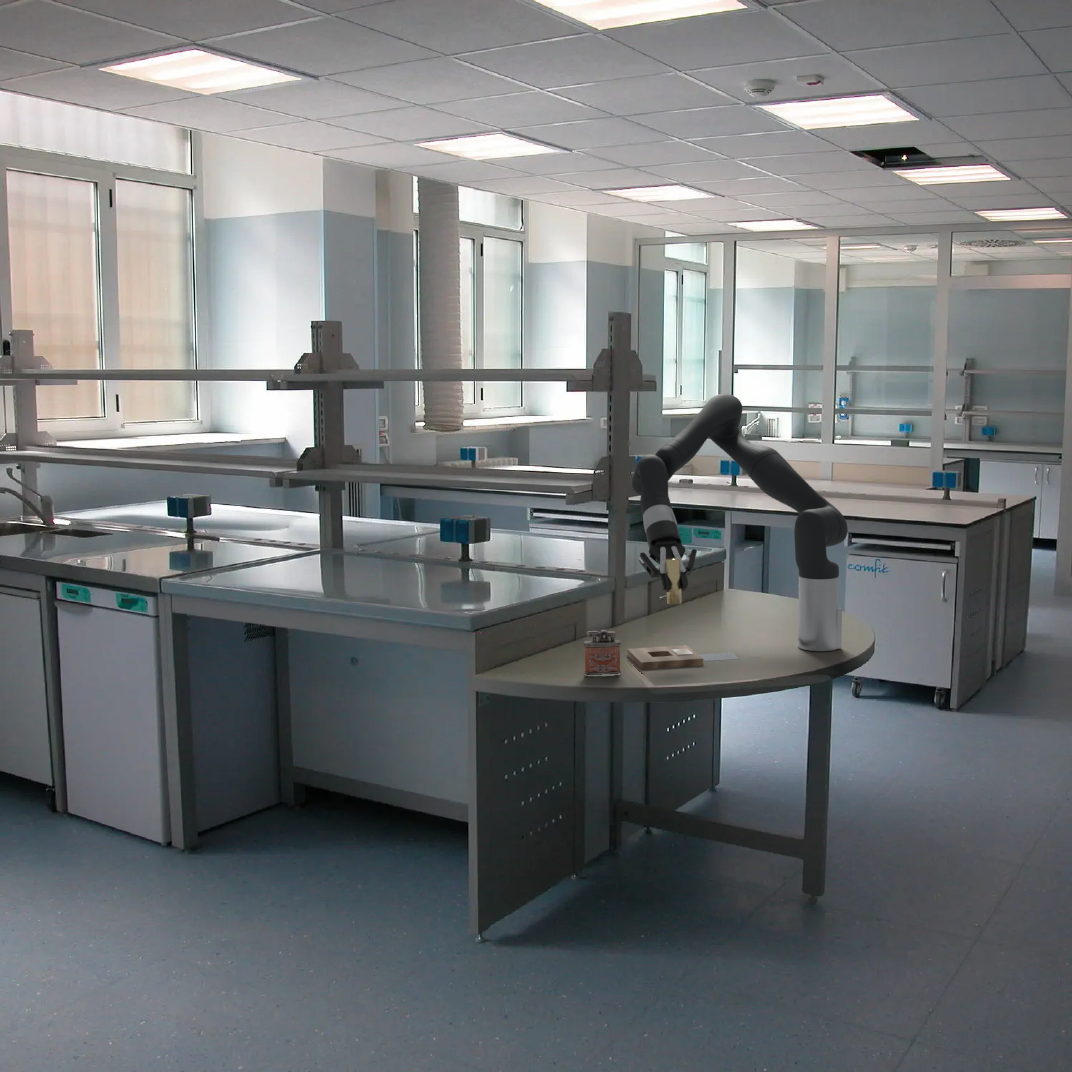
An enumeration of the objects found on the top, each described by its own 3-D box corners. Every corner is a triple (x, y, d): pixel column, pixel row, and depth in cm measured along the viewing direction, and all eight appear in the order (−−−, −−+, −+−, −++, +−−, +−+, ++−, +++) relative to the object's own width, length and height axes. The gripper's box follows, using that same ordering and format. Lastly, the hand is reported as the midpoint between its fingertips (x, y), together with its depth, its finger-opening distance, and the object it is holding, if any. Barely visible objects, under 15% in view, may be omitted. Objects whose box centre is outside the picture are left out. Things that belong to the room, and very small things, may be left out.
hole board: (686, 657, 260) (686, 644, 260) (703, 671, 247) (703, 657, 247) (627, 661, 258) (627, 648, 257) (641, 675, 245) (641, 661, 245)
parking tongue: (730, 658, 258) (730, 652, 258) (739, 665, 252) (739, 658, 252) (697, 661, 257) (697, 654, 257) (704, 667, 251) (704, 660, 251)
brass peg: (679, 601, 254) (678, 557, 253) (683, 603, 251) (681, 559, 250) (665, 602, 254) (664, 558, 252) (669, 604, 251) (667, 560, 249)
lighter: (620, 672, 249) (619, 628, 247) (621, 676, 245) (621, 631, 244) (583, 673, 248) (583, 629, 247) (585, 677, 245) (584, 632, 244)
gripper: (688, 537, 264) (703, 597, 254) (629, 540, 262) (642, 601, 252) (693, 517, 258) (709, 577, 248) (633, 520, 256) (647, 581, 246)
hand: (675, 589), depth 250 cm, fingers closed on brass peg, 3 cm apart
